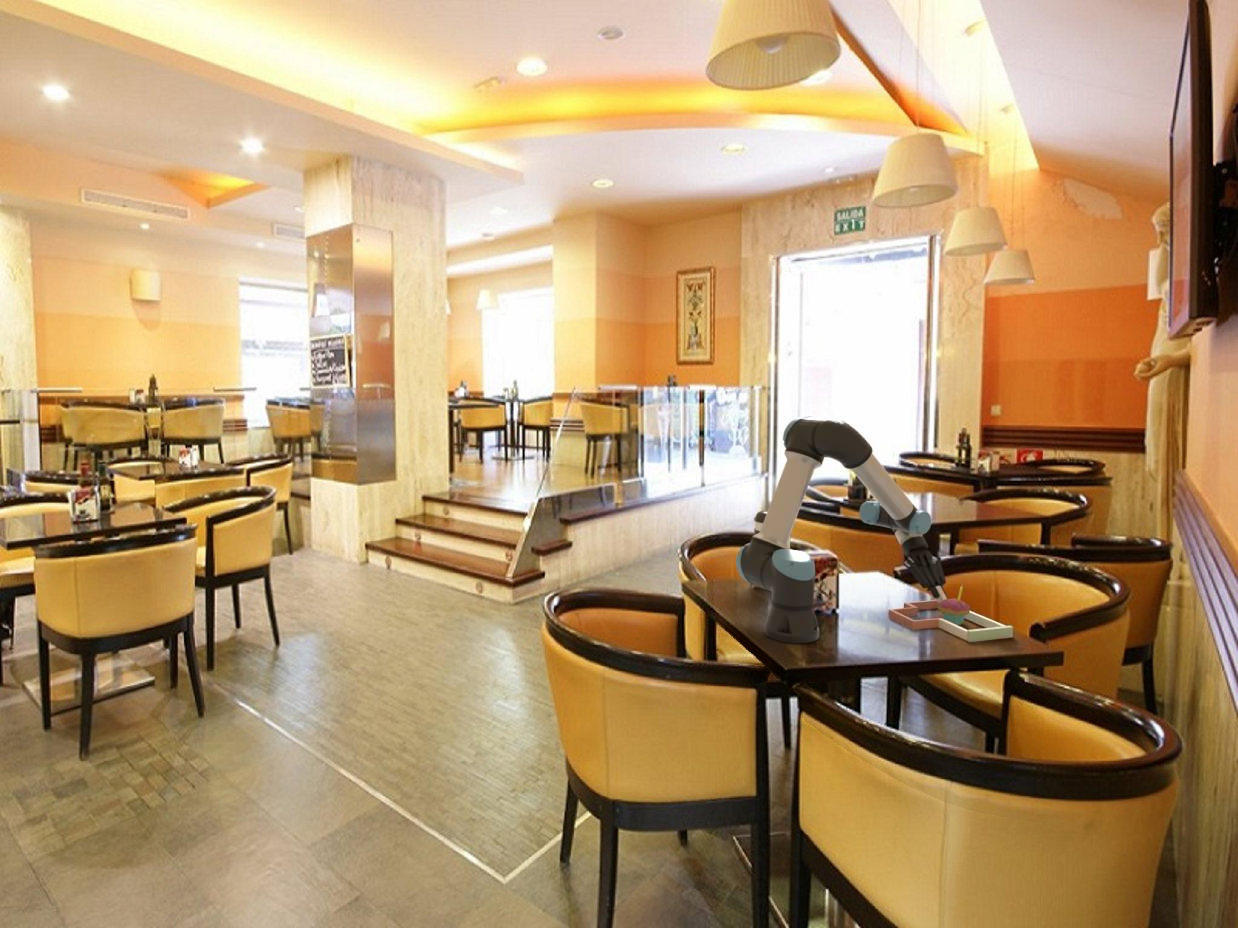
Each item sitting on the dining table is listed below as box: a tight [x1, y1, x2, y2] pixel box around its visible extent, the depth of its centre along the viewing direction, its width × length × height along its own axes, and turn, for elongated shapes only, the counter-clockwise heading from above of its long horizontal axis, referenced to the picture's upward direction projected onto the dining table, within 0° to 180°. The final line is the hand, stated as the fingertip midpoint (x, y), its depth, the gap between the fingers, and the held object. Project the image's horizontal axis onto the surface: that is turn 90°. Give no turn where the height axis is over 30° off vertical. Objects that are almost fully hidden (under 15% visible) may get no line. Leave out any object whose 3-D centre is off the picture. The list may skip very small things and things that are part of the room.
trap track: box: [887, 599, 1014, 643], centre depth 205 cm, size 23×28×3 cm
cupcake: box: [937, 583, 971, 626], centre depth 206 cm, size 9×8×12 cm
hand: (945, 606), depth 211 cm, fingers closed
